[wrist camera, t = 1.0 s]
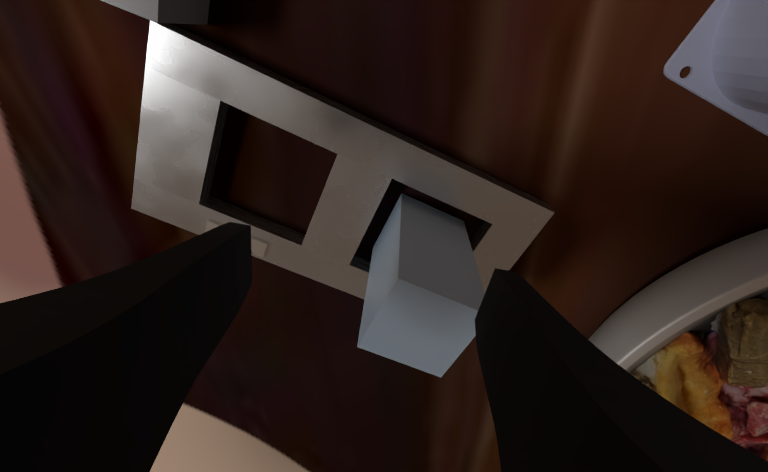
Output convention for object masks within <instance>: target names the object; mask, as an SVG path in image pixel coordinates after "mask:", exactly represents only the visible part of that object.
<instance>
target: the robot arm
mask: <svg viewBox="0 0 768 472" xmlns="http://www.w3.org/2000/svg"><path fill="white" fill-rule="evenodd" d="M686 66H689V67H690V68H691V70H690V73H689V75H688V76H687V77H685V78H681V77H680V71H681V69H683V68H684V67H686ZM663 72H664V75H665V76H666V77H667V78H668V79H670V80H672V81H673V82H675V83H677V84H678V85H680V86H682V87H684V88H685V89H687V90H689V91H690V92H692V93H694V94H696V95H697V96H699V97H701V98H702V99H704V100H706V101H708V102H709V103H711V104H713V105H715V106H716V107H718V108H720V109H721V110H723V111H725V112H727V113H728V114H730V115H732V116H733V117H735V118H737V119H739V120H740V121H742V122H744V123H746V124H747V125H749V126H751V127H752V128H754V129H756V130H758V131H759V132H761V133H763V134H764V135H766V136H768V0H715V1H714V2H713V3H712V5H711V6H710V7H709V9H708V10H707V11H706V12H705V14H704V15H703V16H702V18H701V19H700V20H699V21H698V23H697V24H696V25H695V27H694V28H693V29H692V30H691V32H690V33H689V34H688V36H687V37H686V38H685V39H684V41H683V42H682V43H681V44H680V46H679V47H678V48H677V50H676V51H675V52H674V53H673V55H672V56H671V57H670V59H669V60H668V61H667V63H666V64H665V66H664V71H663ZM251 283H252V254H251V225H245V224H239V223H234V222H228V223H225V224H223V225H220V226H218V227H216V228H213V229H211V230H209V231H207V232H205V233H202V234H200V235H198V236H196V237H194V238H192V239H189V240H187V241H185V242H183V243H181V244H178V245H176V246H174V247H172V248H170V249H167V250H165V251H163V252H160V253H158V254H155V255H153V256H150V257H148V258H145V259H143V260H140V261H138V262H136V263H133V264H131V265H128V266H126V267H123V268H120V269H118V270H115V271H112V272H109V273H106V274H103V275H100V276H97V277H94V278H91V279H88V280H85V281H82V282H79V283H75V284H72V285H69V286H65V287H61V288H58V289H54V290H50V291H47V292H43V293H40V294H35V295H31V296H28V297H24V298H20V299H16V300H12V301H8V302H4V303H0V472H150V469H151V467H152V465H153V463H154V461H155V459H156V457H157V455H158V452H159V450H160V448H161V446H162V444H163V442H164V440H165V438H166V436H167V434H168V432H169V430H170V427H171V425H172V423H173V421H174V419H175V418H176V416H177V414H178V411H179V409H180V408H181V406H182V404H183V402H184V400H185V398H186V396H187V394H188V392H189V390H190V388H191V387H192V385H193V383H194V381H195V380H196V378H197V376H198V375H199V373H200V371H201V370H202V368H203V367H204V365H205V364H206V362H207V360H208V359H209V357H210V356H211V354H212V353H213V351H214V350H215V348H216V346H217V345H218V343H219V342H220V340H221V339H222V337H223V335H224V334H225V332H226V331H227V329H228V328H229V326H230V324H231V323H232V321H233V320H234V318H235V316H236V315H237V313H238V311H239V310H240V308H241V305H242V303H243V301H244V299H245V297H246V295H247V292H248V290H249V288H250V286H251ZM475 332H476V343H477V351H478V356H479V361H480V365H481V369H482V374H483V378H484V382H485V387H486V391H487V395H488V399H489V404H490V408H491V412H492V416H493V421H494V425H495V431H496V436H497V441H498V449H499V457H500V464H501V472H768V461H766V460H764V459H762V458H760V457H759V456H757V455H755V454H753V453H752V452H750V451H748V450H746V449H745V448H743V447H741V446H740V445H738V444H736V443H735V442H733V441H731V440H730V439H728V438H726V437H725V436H723V435H721V434H720V433H718V432H716V431H714V430H713V429H711V428H710V427H708V426H706V425H705V424H703V423H702V422H700V421H698V420H697V419H695V418H694V417H692V416H690V415H689V414H687V413H686V412H684V411H683V410H681V409H680V408H678V407H677V406H675V405H674V404H672V403H671V402H669V401H668V400H666V399H665V398H664V397H662V396H661V395H659V394H658V393H656V392H655V391H653V390H652V389H650V388H649V387H648V386H646V385H645V384H643V383H642V382H641V381H639V380H638V379H637V378H635V377H634V376H633V375H631V374H630V373H629V372H627V371H626V370H625V369H623V368H622V367H621V366H620V365H618V364H617V363H616V362H614V361H613V360H612V359H611V358H609V357H608V356H607V355H606V354H604V353H603V352H602V351H601V350H600V349H598V348H597V347H596V346H595V345H594V344H593V343H591V342H590V341H589V340H588V339H587V338H586V337H585V336H583V335H582V334H581V333H580V332H579V331H578V330H577V329H576V328H574V327H573V326H572V325H571V324H570V323H569V322H568V321H567V320H566V319H565V318H564V317H563V316H562V315H560V314H559V313H558V312H557V311H556V310H555V309H554V308H553V307H552V306H551V305H550V304H549V303H548V302H547V301H546V300H545V299H544V298H543V297H542V296H541V295H540V294H539V293H538V292H537V291H536V290H535V289H534V288H533V287H532V286H531V285H530V284H529V283H527V282H526V281H525V280H524V279H523V278H522V277H521V276H520V275H519V274H517V273H516V272H514V271H508V270H502V269H497V268H495V269H494V272H493V274H492V277H491V279H490V282H489V284H488V287H487V290H486V292H485V295H484V297H483V300H482V302H481V305H480V307H479V310H478V312H477V315H476V317H475Z"/></svg>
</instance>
